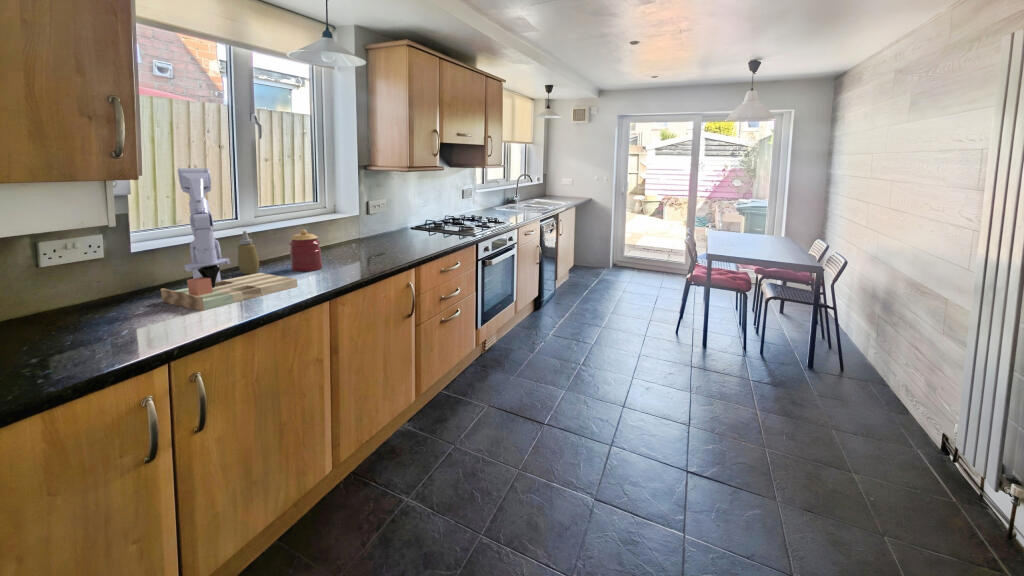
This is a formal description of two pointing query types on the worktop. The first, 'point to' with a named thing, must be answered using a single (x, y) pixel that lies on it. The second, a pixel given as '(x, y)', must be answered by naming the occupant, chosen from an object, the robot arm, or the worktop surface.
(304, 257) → the canister
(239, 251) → the squeeze bottle
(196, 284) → the block
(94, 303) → the worktop surface
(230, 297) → the board
